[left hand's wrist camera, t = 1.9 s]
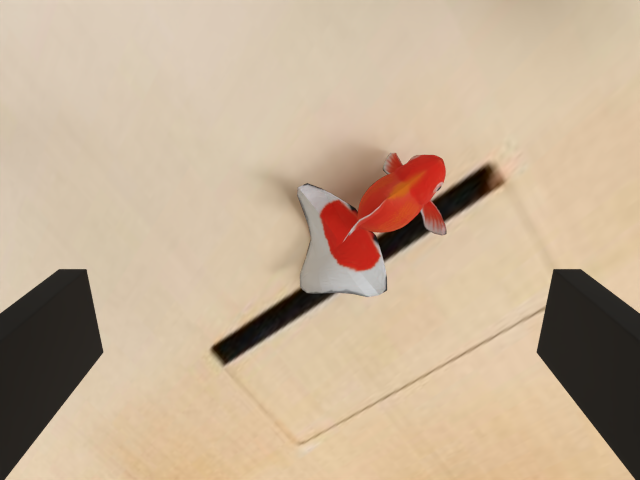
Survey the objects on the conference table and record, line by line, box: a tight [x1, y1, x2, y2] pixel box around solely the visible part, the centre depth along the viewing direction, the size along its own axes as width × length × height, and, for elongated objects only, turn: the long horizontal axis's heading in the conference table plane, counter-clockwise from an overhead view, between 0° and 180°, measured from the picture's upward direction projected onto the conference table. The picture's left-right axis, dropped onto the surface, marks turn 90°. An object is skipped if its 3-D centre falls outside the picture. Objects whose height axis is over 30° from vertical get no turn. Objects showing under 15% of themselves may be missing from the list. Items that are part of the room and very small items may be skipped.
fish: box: [297, 153, 446, 297], centre depth 36 cm, size 11×16×10 cm
